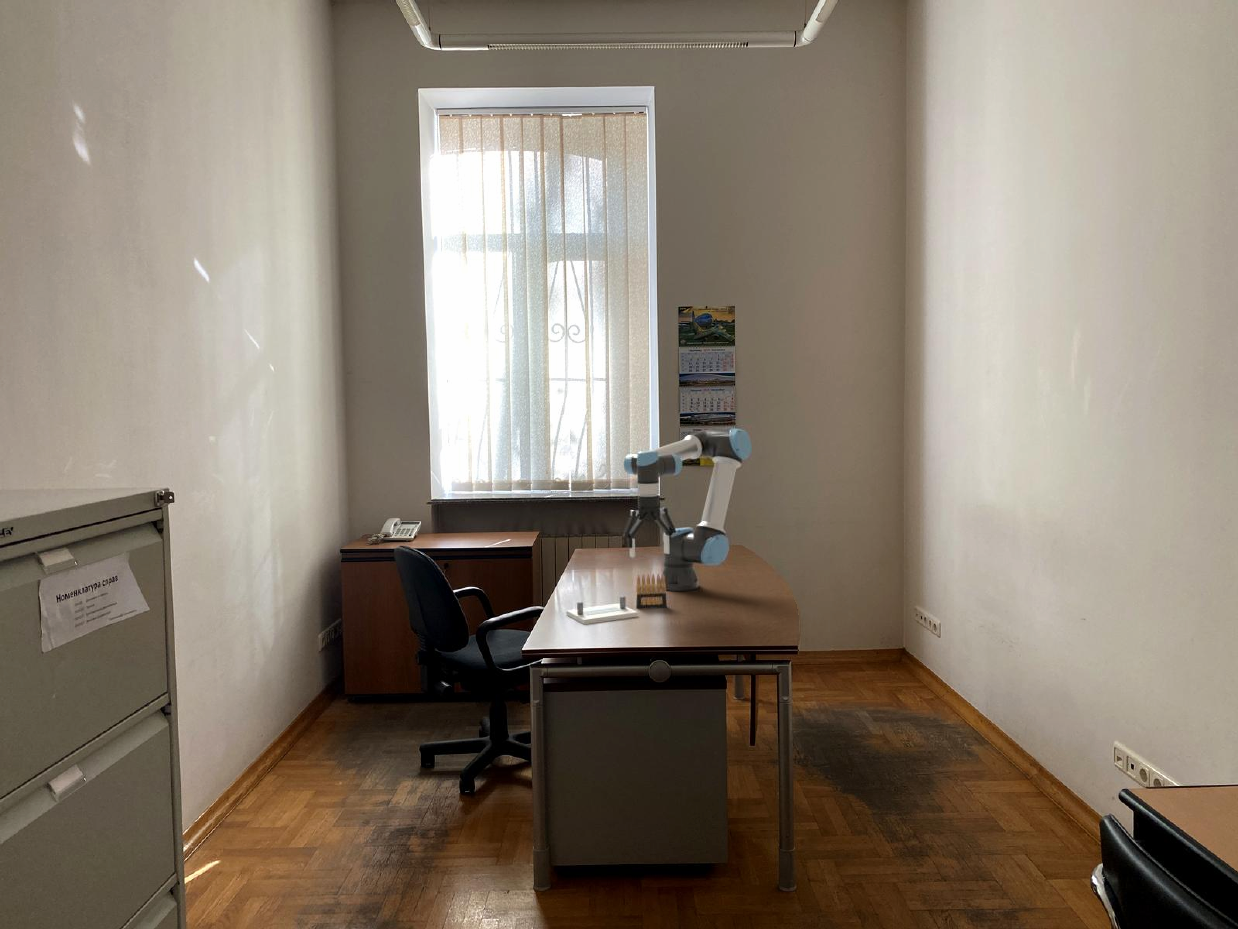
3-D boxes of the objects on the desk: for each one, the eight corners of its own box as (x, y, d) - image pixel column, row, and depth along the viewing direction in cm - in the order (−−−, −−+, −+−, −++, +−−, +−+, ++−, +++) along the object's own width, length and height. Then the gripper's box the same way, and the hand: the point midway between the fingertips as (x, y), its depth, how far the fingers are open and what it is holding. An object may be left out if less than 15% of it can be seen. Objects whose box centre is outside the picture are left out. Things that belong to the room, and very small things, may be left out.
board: (618, 607, 304) (618, 592, 304) (638, 616, 291) (637, 600, 291) (566, 614, 296) (566, 599, 295) (583, 624, 282) (583, 607, 282)
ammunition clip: (636, 608, 302) (635, 575, 301) (636, 607, 304) (635, 574, 303) (666, 607, 303) (666, 574, 302) (666, 606, 305) (665, 572, 304)
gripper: (674, 491, 309) (675, 550, 311) (611, 496, 299) (613, 557, 300) (684, 493, 303) (685, 553, 304) (621, 498, 292) (622, 560, 293)
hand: (649, 555), depth 302 cm, fingers open, 13 cm apart
